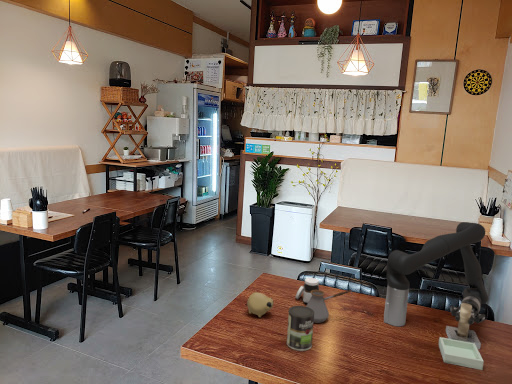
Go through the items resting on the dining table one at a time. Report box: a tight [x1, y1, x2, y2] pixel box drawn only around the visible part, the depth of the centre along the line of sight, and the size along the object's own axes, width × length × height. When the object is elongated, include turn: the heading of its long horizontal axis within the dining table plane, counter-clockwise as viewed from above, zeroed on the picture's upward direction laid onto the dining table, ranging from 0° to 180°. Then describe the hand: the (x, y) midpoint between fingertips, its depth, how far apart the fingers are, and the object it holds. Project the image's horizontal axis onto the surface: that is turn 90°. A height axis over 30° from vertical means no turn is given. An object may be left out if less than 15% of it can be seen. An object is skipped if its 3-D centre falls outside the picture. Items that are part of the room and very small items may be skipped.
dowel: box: [457, 302, 472, 338], centre depth 161 cm, size 4×4×15 cm
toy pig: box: [246, 292, 274, 318], centre depth 175 cm, size 10×12×11 cm
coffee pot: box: [305, 289, 353, 324], centre depth 173 cm, size 21×12×15 cm, turn 87°
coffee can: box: [286, 305, 314, 352], centre depth 152 cm, size 10×10×14 cm
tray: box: [438, 336, 484, 371], centre depth 149 cm, size 13×13×4 cm
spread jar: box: [294, 277, 320, 305], centre depth 192 cm, size 12×11×12 cm
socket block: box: [445, 325, 482, 350], centre depth 162 cm, size 11×11×2 cm
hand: (463, 320), depth 158 cm, fingers closed on dowel, 4 cm apart
